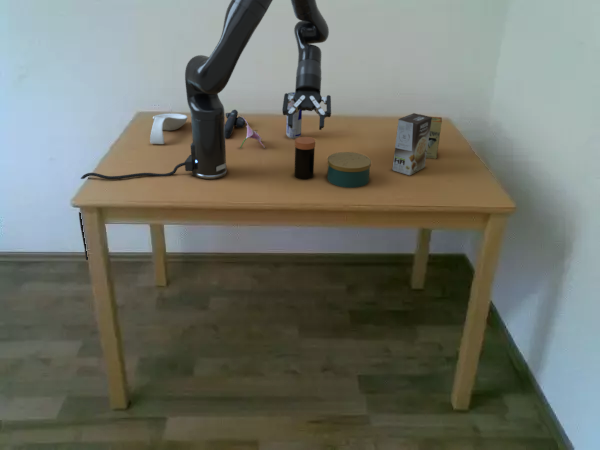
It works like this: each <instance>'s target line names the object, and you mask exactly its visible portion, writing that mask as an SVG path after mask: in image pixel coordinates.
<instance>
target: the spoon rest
mask: <svg viewBox="0 0 600 450" xmlns="http://www.w3.org/2000/svg"><path fill="white" fill-rule="evenodd" d="M152 120H153V122H152V126H151V130H150V136H149V143H150V144H151V145H165V143H166V142H165V136H164V131H176V130H179V129H180V128H182V127H183V126H184V125H185V124H186V122H187V121H188V116H187V115H186V114H183V113H161V114H156V115H153V116H152Z"/></svg>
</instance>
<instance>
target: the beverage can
mask: <svg viewBox="0 0 600 450" xmlns="http://www.w3.org/2000/svg"><path fill="white" fill-rule="evenodd" d="M287 94H288V95H291V96H294V94H295V91H291V92H288V93H287ZM294 104H295V102H294V100H291V102H290V103H288V108H287V109H288V110H290V109H291V108H292V107H293V105H294ZM302 119H303V111H302V110H301V109H300V110H299V111H298V112H297V113H295V114H294V115H293V128H290V127H289V126H288V116H287V115H286V127H285V129H286V130H285V133H286V134H285V135H286V136H287V138H288V139H292V140H293V139H294V140H295V139H296V138H298V137H302V125H303V124H302V122H303V121H302Z"/></svg>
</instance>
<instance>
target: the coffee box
mask: <svg viewBox="0 0 600 450" xmlns="http://www.w3.org/2000/svg"><path fill="white" fill-rule="evenodd" d="M432 117H433V116H430V115H429V116H428V115H425V114H421V113H419V114H418V113H415V112H413V113H411V114H407V115H406V116H403V117H400V118H398V121H397V122H398V123H397V129H396V130H397V131H396V136H395V137H396V138H395V145H394V154H393V162H392V172H393V171H394V172H397V173H400V174H403V175H407V176H412V175H414V174H416V173H417V172H419V171H421V170H423V169H424V168H425V167H426V163H427V162H426V160H427V158H426V154H427V148H428V141H429V134H430V127H431V120H432Z"/></svg>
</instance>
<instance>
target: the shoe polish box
mask: <svg viewBox="0 0 600 450" xmlns="http://www.w3.org/2000/svg"><path fill="white" fill-rule="evenodd" d="M431 117H432V120H431V127H430V134H429V141H428V148H427V154H426V159H435V160H436V159H437V157H438V150H439V143H440V137H441V130H442V124H443V121H442V120H443V118H442V117H441V116H440V117H438V116H431Z"/></svg>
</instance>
